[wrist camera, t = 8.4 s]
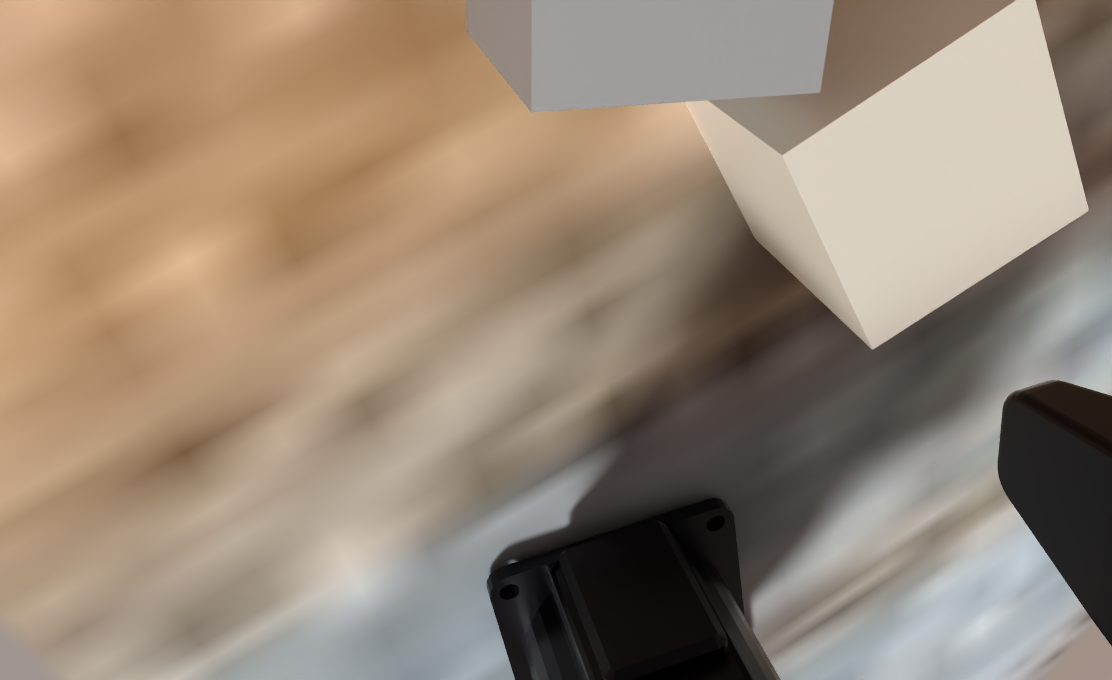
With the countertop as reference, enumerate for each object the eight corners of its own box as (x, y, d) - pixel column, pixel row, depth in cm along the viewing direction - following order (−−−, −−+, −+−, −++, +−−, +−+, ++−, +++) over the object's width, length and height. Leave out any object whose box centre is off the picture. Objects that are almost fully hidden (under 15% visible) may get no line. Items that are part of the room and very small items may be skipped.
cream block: (926, 124, 22) (1088, 210, 17) (754, 238, 22) (872, 349, 18) (862, -61, 19) (1032, -11, 15) (668, 70, 19) (782, 155, 15)
